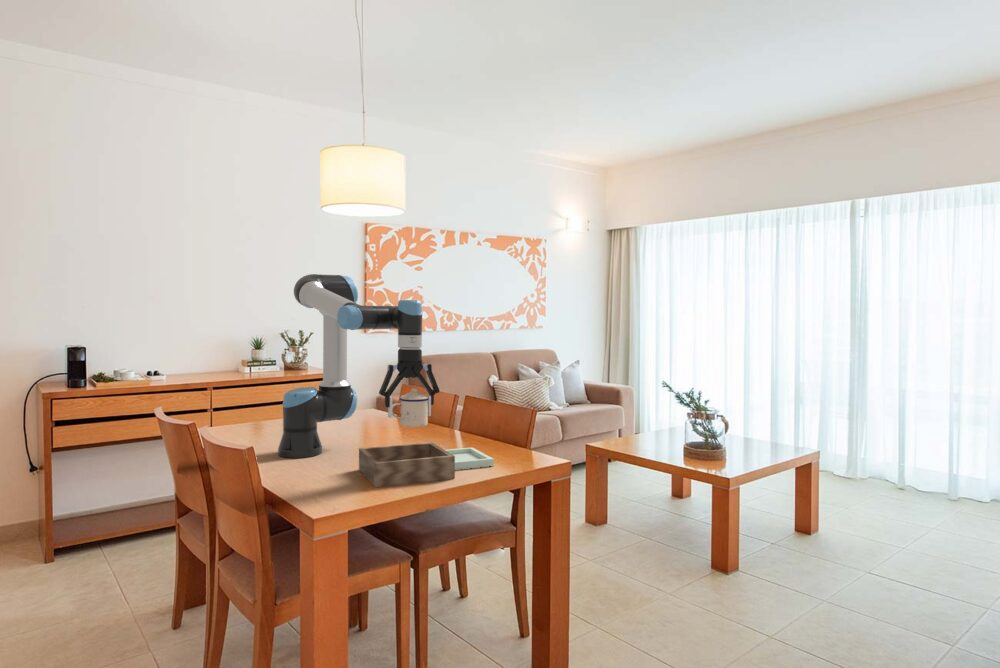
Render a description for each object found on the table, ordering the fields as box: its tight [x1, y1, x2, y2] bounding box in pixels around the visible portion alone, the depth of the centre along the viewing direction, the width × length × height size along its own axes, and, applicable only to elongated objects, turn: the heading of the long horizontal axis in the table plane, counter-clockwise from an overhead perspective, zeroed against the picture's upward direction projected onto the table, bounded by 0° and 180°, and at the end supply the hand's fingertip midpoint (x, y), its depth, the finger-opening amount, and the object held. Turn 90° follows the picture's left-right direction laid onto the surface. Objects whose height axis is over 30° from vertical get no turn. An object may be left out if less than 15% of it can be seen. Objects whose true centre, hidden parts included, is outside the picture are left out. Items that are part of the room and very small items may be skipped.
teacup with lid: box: [392, 387, 429, 428], centre depth 201 cm, size 12×9×12 cm
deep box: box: [358, 441, 456, 488], centre depth 201 cm, size 25×22×7 cm
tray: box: [444, 446, 495, 471], centre depth 218 cm, size 16×19×2 cm
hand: (409, 416), depth 202 cm, fingers closed on teacup with lid, 12 cm apart
